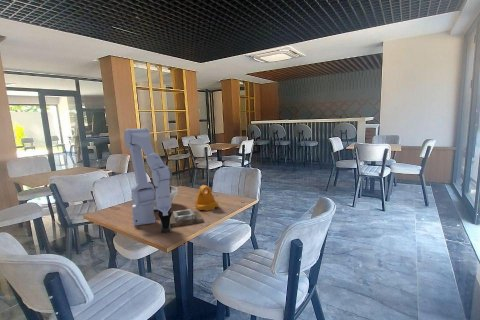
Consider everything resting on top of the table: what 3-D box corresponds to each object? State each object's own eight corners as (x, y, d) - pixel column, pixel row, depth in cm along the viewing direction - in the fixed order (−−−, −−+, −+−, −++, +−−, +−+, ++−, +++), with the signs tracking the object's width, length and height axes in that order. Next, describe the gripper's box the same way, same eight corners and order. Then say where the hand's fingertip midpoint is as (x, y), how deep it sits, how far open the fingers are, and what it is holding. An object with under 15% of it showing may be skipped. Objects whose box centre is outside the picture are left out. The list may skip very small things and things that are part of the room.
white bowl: (141, 219, 127) (138, 189, 124) (125, 207, 146) (123, 181, 144) (187, 207, 142) (185, 180, 140) (167, 198, 161) (166, 174, 159)
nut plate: (167, 227, 115) (167, 220, 115) (165, 218, 127) (165, 211, 126) (203, 221, 121) (202, 214, 120) (198, 213, 132) (198, 206, 131)
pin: (161, 234, 109) (160, 218, 108) (161, 230, 113) (159, 214, 112) (171, 232, 110) (170, 216, 109) (170, 228, 114) (169, 213, 113)
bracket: (200, 211, 135) (198, 189, 133) (195, 208, 141) (194, 186, 139) (218, 207, 140) (217, 186, 138) (213, 204, 146) (212, 183, 144)
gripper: (152, 192, 114) (155, 222, 116) (153, 201, 101) (156, 234, 103) (169, 190, 117) (171, 219, 119) (172, 199, 103) (174, 231, 105)
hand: (165, 226), depth 111 cm, fingers closed on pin, 4 cm apart
